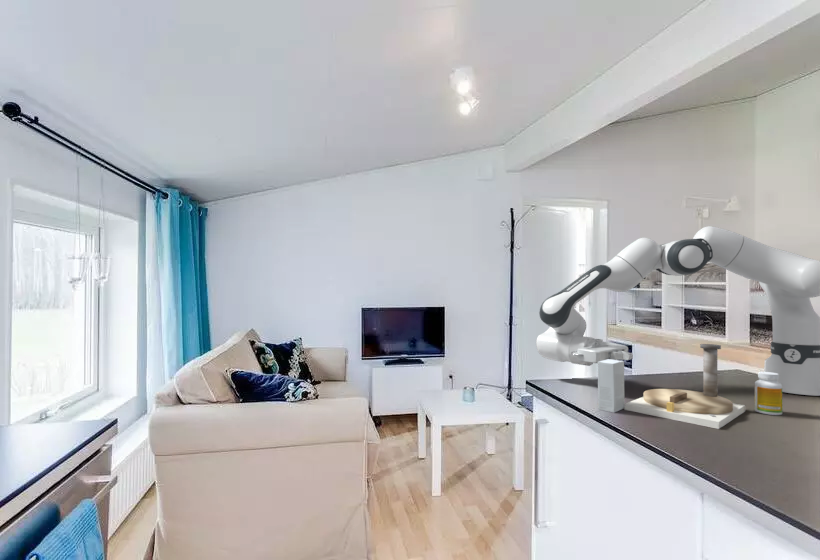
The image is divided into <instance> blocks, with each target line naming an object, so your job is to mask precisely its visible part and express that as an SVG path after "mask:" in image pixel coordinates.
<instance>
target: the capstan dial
mask: <svg viewBox="0 0 820 560" xmlns="http://www.w3.org/2000/svg"><path fill="white" fill-rule="evenodd" d="M699 347H700V348H701V349H703V351H702V353H703V356H702V357H703V358H702V359H703V360H702V361H703V363H702V364H703V367H702V369H703V371H702V372H703V374H702V377H703V378H702V379H703V380H702V381H703V383H702V384H703V385H702V387H703V388H702V389H703V391H696V390H687V389H679V388H678V389H675V388H653V389H647V390H645V391H643V397H644V401H646V402H647V403H649V404H652V405H655V406H658V407H662V408H666V409H667V402H672V403H674V410H676V411H682V412H689V413H700V414H723V413H729V412H731V411H733V403H734V402H733V401H732V400H730V399H728V398H725V397H723V396H720V395H718V350H721V349H722V345H720V344H713V343H701V344H699Z"/></svg>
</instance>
